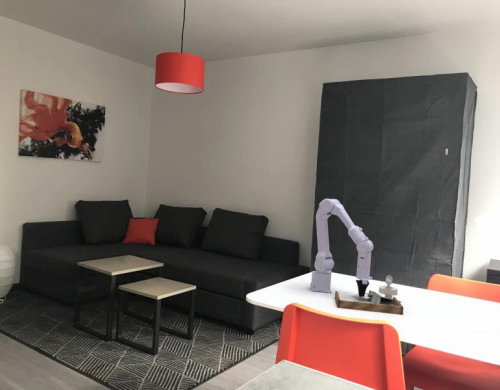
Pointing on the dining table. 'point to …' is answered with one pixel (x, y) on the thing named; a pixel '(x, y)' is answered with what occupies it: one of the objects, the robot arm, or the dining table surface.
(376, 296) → the metal bracket
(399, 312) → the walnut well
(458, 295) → the dining table surface
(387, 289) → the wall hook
